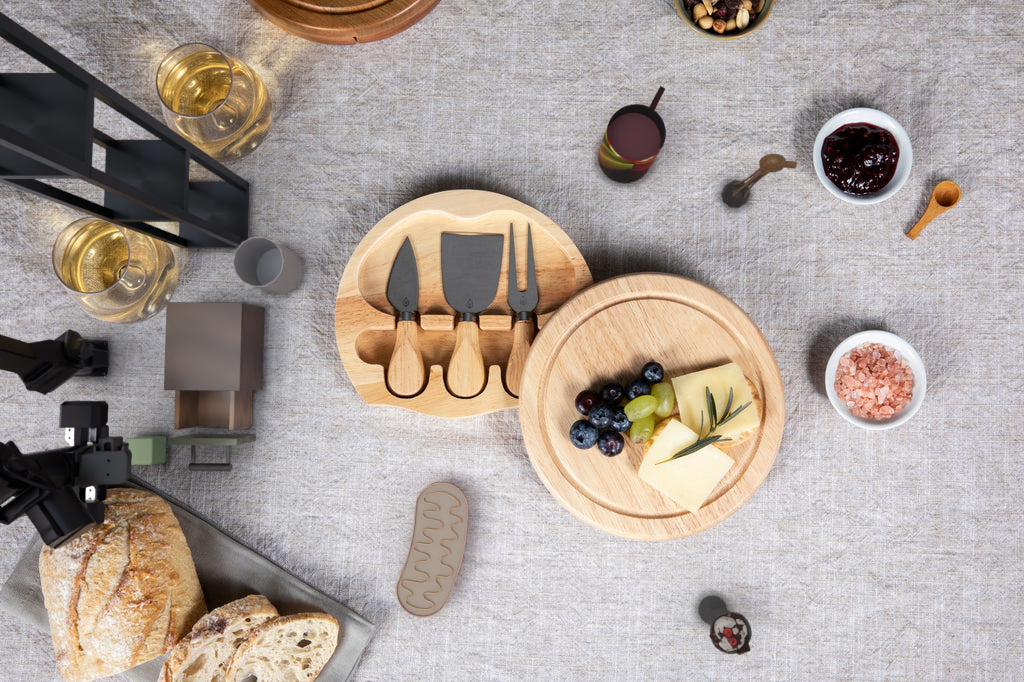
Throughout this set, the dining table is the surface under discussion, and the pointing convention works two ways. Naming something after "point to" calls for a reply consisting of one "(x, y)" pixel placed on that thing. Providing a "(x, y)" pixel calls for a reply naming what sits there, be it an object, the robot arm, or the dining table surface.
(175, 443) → the drawer
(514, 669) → the dining table surface
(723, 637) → the sundae
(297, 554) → the dining table surface
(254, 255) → the cup
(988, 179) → the dining table surface
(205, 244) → the rack
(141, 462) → the block
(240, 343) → the cabinet
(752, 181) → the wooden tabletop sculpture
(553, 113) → the dining table surface
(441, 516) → the mitochondrion model
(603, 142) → the mug
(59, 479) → the robot arm
